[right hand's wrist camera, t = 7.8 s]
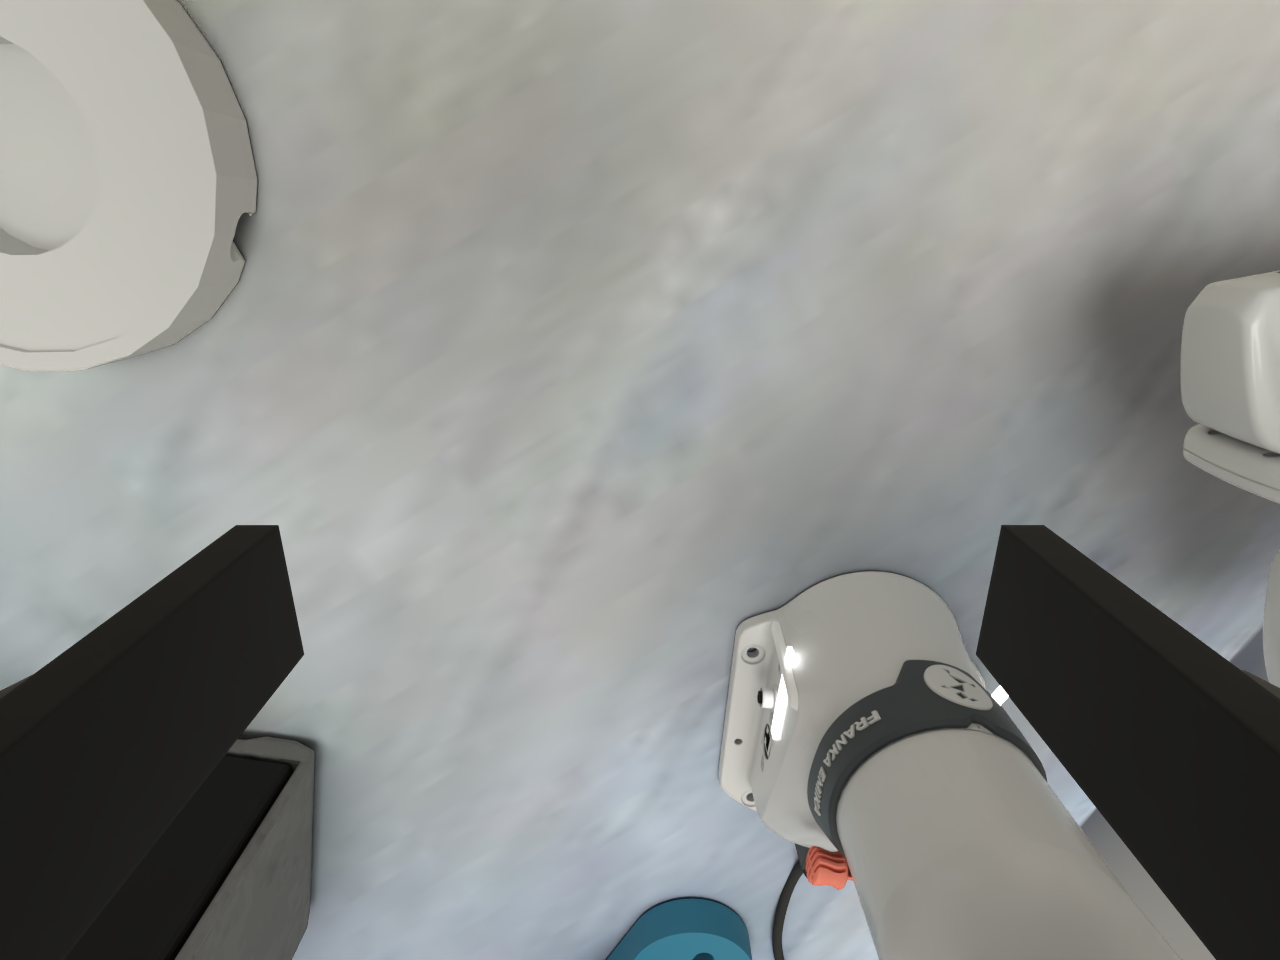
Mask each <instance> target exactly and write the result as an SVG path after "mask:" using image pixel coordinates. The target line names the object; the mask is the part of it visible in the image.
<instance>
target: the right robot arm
mask: <svg viewBox="0 0 1280 960" xmlns="http://www.w3.org/2000/svg"><path fill="white" fill-rule="evenodd" d="M303 655H304V651H303V646H302V641H301V636H300V631H299V626H298V621H297V616H296V611H295V606H294V601H293V596H292V591H291V586H290V581H289V576H288V571H287V566H286V561H285V556H284V551H283V546H282V541H281V536H280V531H279V526H278V525H236V526H235V527H233V528H232V529H230V530H229V531H228V532H226V533H225V534H224V535H222V536H221V537H220V538H218V539H217V540H216V541H214V542H213V543H211V544H210V545H209V546H207V547H206V548H205V549H203V550H202V551H201V552H199V553H198V554H196V555H195V556H194V557H192V558H191V559H190V560H188V561H187V562H186V563H184V564H183V565H182V566H180V567H179V568H177V569H176V570H175V571H173V572H172V573H171V574H169V575H168V576H167V577H165V578H164V579H163V580H161V581H160V582H158V583H157V584H156V585H154V586H153V587H152V588H150V589H149V590H148V591H146V592H145V593H144V594H142V595H141V596H139V597H138V598H137V599H135V600H134V601H133V602H131V603H130V604H129V605H127V606H126V607H125V608H123V609H122V610H120V611H119V612H118V613H116V614H115V615H114V616H112V617H111V618H110V619H108V620H107V621H106V622H104V623H103V624H101V625H100V626H99V627H97V628H96V629H95V630H93V631H92V632H91V633H89V634H88V635H87V636H85V637H84V638H82V639H81V640H80V641H78V642H77V643H76V644H74V645H73V646H72V647H70V648H69V649H68V650H66V651H65V652H63V653H62V654H61V655H59V656H58V657H57V658H55V659H54V660H53V661H51V662H50V663H49V664H47V665H46V666H44V667H43V668H42V669H40V670H39V671H38V672H36V673H35V674H33V675H31V676H29V677H27V678H25V679H23V680H21V681H19V682H17V683H15V684H13V685H11V686H9V687H7V688H5V689H3V690H1V691H0V960H64V959H65V958H66V956H67V955H68V954H69V952H70V951H71V950H72V949H73V947H74V946H75V945H76V944H77V942H78V941H79V940H80V939H81V937H82V936H83V935H84V933H85V932H86V931H87V930H88V928H89V927H90V926H91V925H92V923H93V922H94V921H95V919H96V918H97V917H98V916H99V914H100V913H101V912H102V911H103V909H104V908H105V907H106V905H107V904H108V903H109V902H110V900H111V899H112V898H113V897H114V895H115V894H116V893H117V892H118V890H119V889H120V888H121V886H122V885H123V884H124V883H125V881H126V880H127V879H128V878H129V876H130V875H131V874H132V872H133V871H134V870H135V869H136V867H137V866H138V865H139V864H140V862H141V861H142V860H143V859H144V857H145V856H146V855H147V853H148V852H149V851H150V850H151V848H152V847H153V846H154V845H155V843H156V842H157V841H158V839H159V838H160V837H161V836H162V834H163V833H164V832H165V831H166V829H167V828H168V827H169V825H170V824H171V823H172V822H173V820H174V819H175V818H176V817H177V815H178V814H179V813H180V812H181V810H182V809H183V808H184V806H185V805H186V804H187V803H188V801H189V800H190V799H191V798H192V796H193V795H194V794H195V792H196V791H197V790H198V789H199V787H200V786H201V785H202V784H203V782H204V781H205V780H206V778H207V777H208V776H209V775H210V773H211V772H212V771H213V770H214V768H215V767H216V766H217V765H218V763H219V762H220V761H221V759H222V758H223V757H224V756H225V754H226V753H227V752H228V751H229V749H230V748H231V747H232V745H233V744H234V743H235V742H236V740H237V739H238V738H239V737H240V735H241V734H242V733H243V731H244V730H245V729H246V728H247V726H248V725H249V724H250V723H251V721H252V720H253V719H254V718H255V716H256V715H257V714H258V712H259V711H260V710H261V709H262V707H263V706H264V705H265V704H266V702H267V701H268V700H269V698H270V697H271V696H272V695H273V693H274V692H275V691H276V690H277V688H278V687H279V686H280V684H281V683H282V682H283V681H284V679H285V678H286V677H287V676H288V674H289V673H290V672H291V671H292V669H293V668H294V667H295V665H296V664H297V663H298V662H299V660H300V659H301V658H302V657H303ZM976 655H977V657H978V658H979V659H980V660H981V662H982V663H983V664H984V665H985V667H986V668H987V669H988V671H989V672H990V673H991V674H992V676H993V677H994V678H995V679H996V681H997V682H998V683H999V684H1000V686H1001V687H1002V688H1003V690H1004V691H1005V692H1006V693H1007V695H1008V696H1009V697H1010V698H1011V700H1012V701H1013V702H1014V704H1015V705H1016V706H1017V707H1018V709H1019V710H1020V711H1021V712H1022V714H1023V715H1024V716H1025V718H1026V719H1027V720H1028V721H1029V723H1030V724H1031V725H1032V726H1033V728H1034V729H1035V730H1036V731H1037V733H1038V734H1039V735H1040V737H1041V738H1042V739H1043V740H1044V742H1045V743H1046V744H1047V745H1048V747H1049V748H1050V749H1051V751H1052V752H1053V753H1054V754H1055V756H1056V757H1057V758H1058V759H1059V761H1060V762H1061V763H1062V765H1063V766H1064V767H1065V768H1066V770H1067V771H1068V772H1069V773H1070V775H1071V776H1072V777H1073V778H1074V780H1075V781H1076V782H1077V784H1078V785H1079V786H1080V787H1081V789H1082V790H1083V791H1084V792H1085V794H1086V795H1087V796H1088V798H1089V799H1090V800H1091V801H1092V803H1093V804H1094V805H1095V806H1096V808H1097V809H1098V810H1099V811H1100V813H1101V814H1102V815H1103V817H1104V818H1105V819H1106V820H1107V822H1108V823H1109V824H1110V825H1111V827H1112V828H1113V829H1114V831H1115V832H1116V833H1117V834H1118V836H1119V837H1120V838H1121V839H1122V841H1123V842H1124V843H1125V845H1126V846H1127V847H1128V848H1129V850H1130V851H1131V852H1132V853H1133V855H1134V856H1135V857H1136V858H1137V860H1138V861H1139V862H1140V864H1141V865H1142V866H1143V867H1144V869H1145V870H1146V871H1147V872H1148V874H1149V875H1150V876H1151V878H1152V879H1153V880H1154V881H1155V883H1156V884H1157V885H1158V886H1159V888H1160V889H1161V890H1162V892H1163V893H1164V894H1165V895H1166V897H1167V898H1168V899H1169V900H1170V902H1171V903H1172V904H1173V905H1174V907H1175V908H1176V909H1177V911H1178V912H1179V913H1180V914H1181V916H1182V917H1183V918H1184V919H1185V921H1186V922H1187V923H1188V925H1189V926H1190V927H1191V928H1192V930H1193V931H1194V932H1195V933H1196V935H1197V936H1198V937H1199V939H1200V940H1201V941H1202V942H1203V944H1204V945H1205V946H1206V947H1207V949H1208V950H1209V951H1210V952H1211V954H1212V955H1213V956H1214V958H1215V959H1216V960H1280V688H1279V687H1277V686H1275V685H1273V684H1271V683H1269V682H1267V681H1265V680H1263V679H1261V678H1259V677H1257V676H1255V675H1252V674H1250V673H1249V672H1247V671H1244V670H1240V669H1238V668H1237V667H1236V666H1234V665H1233V664H1231V663H1230V662H1229V661H1227V660H1226V659H1225V658H1223V657H1222V656H1221V655H1219V654H1218V653H1217V652H1215V651H1214V650H1212V649H1211V648H1210V647H1208V646H1207V645H1206V644H1204V643H1203V642H1202V641H1200V640H1199V639H1198V638H1196V637H1195V636H1193V635H1192V634H1191V633H1189V632H1188V631H1187V630H1185V629H1184V628H1183V627H1181V626H1180V625H1179V624H1177V623H1176V622H1174V621H1173V620H1172V619H1170V618H1169V617H1168V616H1166V615H1165V614H1164V613H1162V612H1161V611H1160V610H1158V609H1157V608H1155V607H1154V606H1153V605H1151V604H1150V603H1149V602H1147V601H1146V600H1145V599H1143V598H1142V597H1141V596H1139V595H1138V594H1136V593H1135V592H1134V591H1132V590H1131V589H1130V588H1128V587H1127V586H1126V585H1124V584H1123V583H1122V582H1120V581H1119V580H1117V579H1116V578H1115V577H1113V576H1112V575H1111V574H1109V573H1108V572H1107V571H1105V570H1104V569H1103V568H1101V567H1100V566H1098V565H1097V564H1096V563H1094V562H1093V561H1092V560H1090V559H1089V558H1088V557H1086V556H1085V555H1084V554H1082V553H1081V552H1079V551H1078V550H1077V549H1075V548H1074V547H1073V546H1071V545H1070V544H1069V543H1067V542H1066V541H1064V540H1063V539H1062V538H1060V537H1059V536H1058V535H1056V534H1055V533H1054V532H1052V531H1051V530H1050V529H1048V528H1047V527H1045V526H1044V525H1002V526H1001V531H1000V536H999V541H998V546H997V551H996V556H995V561H994V566H993V571H992V576H991V581H990V586H989V591H988V596H987V601H986V606H985V611H984V616H983V621H982V626H981V631H980V636H979V641H978V646H977V651H976Z"/></svg>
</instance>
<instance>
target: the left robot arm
mask: <svg viewBox="0 0 1280 960" xmlns="http://www.w3.org/2000/svg"><path fill="white" fill-rule="evenodd" d="M1180 380H1181V397H1182V403H1183V406H1184V409H1185V411H1186V413H1187V414H1188V416H1189V417H1190V418H1191V419H1192V420H1193V421H1195V422H1197V423H1199V424H1197V425H1195V426H1193V427H1191V428H1190V429H1189V430H1188V432H1187V434H1186V436H1185V439H1184V445H1183V455H1184V458H1185V459H1186V460H1187V461H1188V462H1190V463H1192V464H1193V465H1195V466H1197V467H1198V468H1200V469H1202V470H1204V471H1205V472H1207V473H1209V474H1211V475H1213V476H1215V477H1217V478H1219V479H1221V480H1223V481H1225V482H1227V483H1229V484H1232V485H1234V486H1236V487H1238V488H1241V489H1243V490H1245V491H1248V492H1250V493H1252V494H1255V495H1257V496H1260V497H1262V498H1265V499H1268V500H1270V501H1273V502H1276V503H1278V504H1280V270H1279V271H1273V272H1268V273H1262V274H1257V275H1251V276H1246V277H1240V278H1235V279H1229V280H1223V281H1218V282H1213V283H1210V284H1208V285H1207V286H1206V287H1205V288H1204V289H1203V290H1202V291H1201V292H1200V293H1199V295H1198V296H1197V297H1196V298H1195V300H1194V301H1193V302H1192V304H1191V305H1190V306H1189V307H1188V309H1187V311H1186V314H1185V318H1184V324H1183V331H1182V343H1181V367H1180ZM750 648H756V650H755V651H754V652H748V649H750ZM1263 650H1264V659H1265V666H1266V672H1267V676H1268V680H1269V683H1271V684H1273V685H1275V686H1277V687H1279V688H1280V549H1279V551H1278V552H1277V554H1276V555H1275V557H1274V559H1273V561H1272V563H1271V567H1270V571H1269V578H1268V584H1267V591H1266V599H1265V608H1264V620H1263ZM985 688H986V685H985V681H984V679H983V677H982V675H981V673H980V672H979V670H978V668H977V667H976V666H975V664H974V663H973V662H972V661H971V660H970V658H969V656H968V653H967V651H966V649H965V646H964V644H963V641H962V639H961V636H960V633H959V630H958V627H957V624H956V621H955V618H954V616H953V614H952V612H951V611H950V609H949V608H948V606H947V605H946V604H945V602H944V601H943V600H942V599H941V598H940V597H939V596H938V595H937V594H936V593H935V592H934V591H932V590H931V589H930V588H928V587H927V586H925V585H923V584H922V583H920V582H918V581H916V580H913V579H911V578H908V577H905V576H902V575H899V574H894V573H888V572H878V571H865V572H855V573H849V574H844V575H840V576H836V577H833V578H830V579H828V580H825V581H823V582H821V583H818V584H816V585H814V586H813V587H811V588H809V589H807V590H806V591H804V592H803V593H801V594H800V595H798V596H797V597H796V598H794V599H793V600H792V601H790V602H789V603H788V604H786V605H784V606H783V607H781V608H779V609H777V610H774V611H770V612H767V613H763V614H760V615H757V616H754V617H751V618H749V619H747V620H745V621H743V622H742V623H741V624H740V625H739V626H738V628H737V630H736V634H735V642H734V650H733V658H732V666H731V674H730V682H729V690H728V698H727V706H726V714H725V722H724V730H723V738H722V746H721V754H720V762H719V771H718V779H719V782H720V786H721V788H722V789H723V790H724V791H725V792H726V793H727V794H728V795H729V796H730V797H732V798H733V799H734V800H736V801H737V802H739V803H741V804H742V805H744V806H746V807H748V808H750V809H752V810H755V811H757V812H758V815H759V817H760V819H761V820H762V822H763V823H764V824H765V825H766V826H767V827H768V828H769V829H770V830H771V831H773V832H774V833H775V834H777V835H779V836H780V837H782V838H784V839H786V840H788V841H790V842H793V843H795V845H796V849H797V853H798V857H799V861H800V862H799V863H798V864H797V865H796V866H795V867H794V868H793V870H792V872H791V874H790V875H789V877H788V879H787V882H786V884H785V886H784V888H783V891H782V893H781V896H780V900H779V903H778V907H777V911H776V916H775V922H774V928H773V952H774V957H775V960H784V957H783V951H782V930H783V924H784V919H785V914H786V911H787V907H788V903H789V900H790V897H791V895H792V892H793V890H794V887H795V885H796V883H797V881H798V880H799V878H800V876H801V875H802V874H803V873H804V874H805V876H806V877H807V878H808V880H809V882H810V883H812V885H819V886H823V885H829V886H833V887H835V888H836V889H842V888H843V887H844V886H845V884H846V882H847V879H848V880H853V881H854V884H855V887H856V890H857V893H858V896H859V899H860V902H861V906H862V909H863V912H864V915H865V918H866V921H867V924H868V927H869V930H870V933H871V936H872V939H873V942H874V945H875V949H876V952H877V955H878V958H879V960H1183V959H1182V958H1181V957H1180V956H1179V955H1178V953H1177V952H1176V951H1175V950H1174V949H1173V947H1172V946H1171V945H1170V944H1169V942H1168V941H1167V940H1166V939H1165V938H1164V936H1163V935H1162V934H1161V933H1160V932H1159V930H1158V929H1157V928H1156V927H1155V926H1154V924H1153V923H1152V922H1151V921H1150V920H1149V918H1148V917H1147V916H1146V915H1145V913H1144V912H1143V911H1142V910H1141V908H1140V907H1139V906H1138V905H1137V903H1136V902H1135V901H1134V899H1133V898H1132V897H1131V895H1130V894H1129V893H1128V891H1127V890H1126V889H1125V888H1124V886H1123V885H1122V884H1121V882H1120V881H1119V880H1118V878H1117V877H1116V876H1115V874H1114V873H1113V871H1112V870H1111V869H1110V867H1109V866H1108V865H1107V863H1106V862H1105V861H1104V859H1103V858H1102V857H1101V855H1100V854H1099V852H1098V851H1097V850H1096V848H1095V847H1094V846H1093V844H1092V843H1091V842H1090V840H1089V839H1088V837H1087V836H1086V835H1085V833H1084V832H1083V831H1082V829H1081V828H1080V827H1079V825H1078V824H1077V822H1076V821H1075V820H1074V818H1073V817H1072V816H1071V814H1070V813H1069V812H1068V810H1067V809H1066V808H1065V806H1064V805H1063V803H1062V802H1061V801H1060V799H1059V798H1058V797H1057V795H1056V794H1055V793H1054V791H1053V790H1052V788H1051V787H1050V786H1049V784H1048V783H1047V778H1046V774H1045V771H1044V768H1043V766H1042V763H1041V762H1040V760H1039V758H1038V757H1037V755H1036V753H1035V752H1034V751H1033V749H1032V748H1031V746H1030V745H1029V743H1028V742H1027V740H1026V739H1025V737H1024V736H1023V735H1022V733H1021V732H1020V730H1019V729H1018V728H1017V726H1016V725H1015V724H1014V722H1013V721H1012V720H1011V718H1010V717H1009V716H1008V714H1007V713H1006V712H1005V710H1004V709H1003V708H1002V707H1001V706H1000V705H1001V704H1002V703H1003V702H1004V701H1005V700H1006V699H1007V698H1008V697H1009V696H1008V695H1007V693H1006V692H1005V691H1004V690H1003V688H1002V687H1001V686H999V687H998V688H997V689H996V690H995V691H994V693H993V694H992V695H990V694H989V693H988V692H987V690H986V689H985ZM749 793H753V794H749Z"/></svg>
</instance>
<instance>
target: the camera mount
mask: <svg viewBox="0 0 1280 960" xmlns="http://www.w3.org/2000/svg"><path fill="white" fill-rule="evenodd" d="M607 960H752V955H751V949H750V942H749V936H748V931H747V928H746V926H745V924H744V922H743V921H742V920H741V918H740V917H739V916H738V915H737V914H736V913H735V912H733V911H732V910H731V909H729V908H728V907H726V906H724V905H722V904H719V903H716V902H713V901H709V900H703V899H680V900H674V901H670V902H666V903H663V904H661V905H658V906H656V907H654V908H652V909H651V910H649V911H648V912H646V913H645V914H644V915H643V916H641V917H640V918H639V920H638V921H637V922H636V923H635V924H634V926H633V927H632V928H631V930H630V931H629V932H628V933H627V935H626V936H625V937H624V938H623V940H622V941H621V942H620V943H619V945H618V946H617V947H616V948H615V950H614V951H613V952H612V953H611V955H610V956H609V957H608V959H607Z"/></svg>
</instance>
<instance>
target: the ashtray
mask: <svg viewBox="0 0 1280 960" xmlns="http://www.w3.org/2000/svg"><path fill="white" fill-rule="evenodd" d="M256 195H257V176H256V171H255V166H254V160H253V155H252V150H251V145H250V139H249V134H248V129H247V124H246V120H245V117H244V115H243V113H242V110H241V108H240V106H239V103H238V101H237V99H236V96H235V94H234V92H233V90H232V87H231V85H230V83H229V80H228V78H227V76H226V73H225V71H224V69H223V66H222V64H221V62H220V60H219V58H218V57H217V56H216V54H215V53H214V51H213V50H212V48H211V47H210V46H209V44H208V43H207V41H206V40H205V38H204V37H203V36H202V34H201V33H200V31H199V30H198V29H197V27H196V26H195V24H194V23H193V21H192V20H191V19H190V17H189V16H188V14H187V13H186V11H185V10H184V9H183V7H182V6H181V4H180V3H179V2H178V1H177V0H0V365H4V366H8V367H12V368H17V369H21V370H25V371H73V370H85V369H89V368H92V367H96V366H100V365H104V364H108V363H112V362H116V361H120V360H124V359H128V358H131V357H135V356H138V355H141V354H145V353H148V352H151V351H154V350H158V349H161V348H164V347H167V346H171V345H174V344H176V343H177V342H178V341H180V340H181V339H183V338H184V337H186V336H187V335H188V334H190V333H191V332H193V331H194V330H196V329H197V328H198V327H200V326H201V325H203V324H204V323H206V322H207V321H208V320H210V319H211V318H212V317H213V315H214V314H215V313H216V311H217V310H218V309H219V307H220V306H221V304H222V303H223V302H224V300H225V299H226V298H227V296H228V295H229V294H230V292H231V291H232V290H233V288H234V287H235V286H236V284H237V283H238V281H239V278H240V275H241V272H242V269H243V267H244V264H245V260H244V259H243V257H242V255H241V254H240V252H239V250H238V249H237V247H236V245H235V244H234V242H233V238H234V236H235V231H236V227H237V223H238V220H239V218H240V216H241V215H242V214H243V213H245V212H246V213H248V214H249V215H250V217H251V215H252V214H253V213H256Z"/></svg>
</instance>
